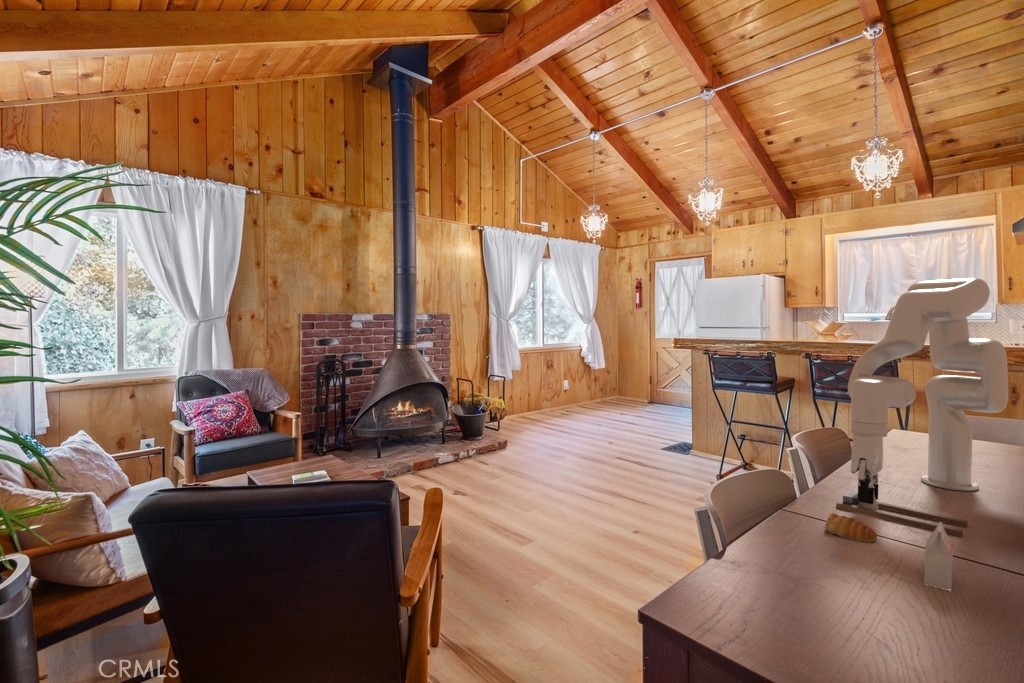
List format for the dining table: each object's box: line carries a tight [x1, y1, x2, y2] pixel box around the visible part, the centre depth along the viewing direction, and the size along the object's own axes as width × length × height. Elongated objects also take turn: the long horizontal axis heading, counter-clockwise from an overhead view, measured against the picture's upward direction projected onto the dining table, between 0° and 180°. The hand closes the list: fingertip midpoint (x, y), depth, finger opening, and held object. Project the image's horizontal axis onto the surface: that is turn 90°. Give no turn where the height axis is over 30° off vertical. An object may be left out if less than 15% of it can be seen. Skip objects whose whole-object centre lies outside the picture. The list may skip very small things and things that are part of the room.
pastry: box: [824, 512, 878, 543], centre depth 112 cm, size 9×7×4 cm
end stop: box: [842, 490, 859, 506], centre depth 129 cm, size 6×2×3 cm, turn 132°
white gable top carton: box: [923, 521, 954, 590], centre depth 92 cm, size 4×7×10 cm, turn 138°
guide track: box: [835, 500, 969, 538], centre depth 122 cm, size 9×24×1 cm, turn 41°
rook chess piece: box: [857, 477, 880, 511], centre depth 127 cm, size 4×4×8 cm
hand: (867, 499), depth 127 cm, fingers closed on rook chess piece, 3 cm apart
